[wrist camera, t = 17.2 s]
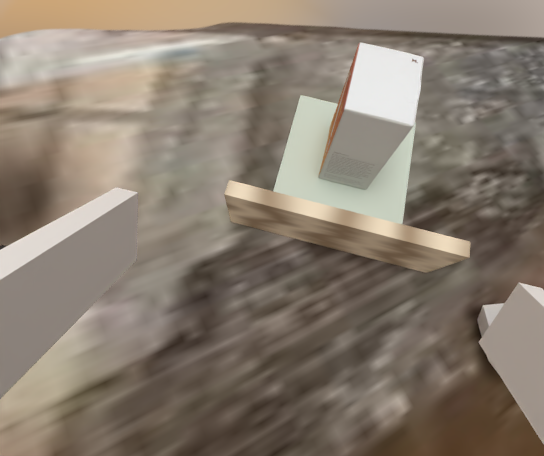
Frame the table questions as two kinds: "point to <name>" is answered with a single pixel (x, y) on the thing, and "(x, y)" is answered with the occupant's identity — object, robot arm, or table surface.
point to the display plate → (307, 185)
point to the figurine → (488, 318)
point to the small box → (372, 114)
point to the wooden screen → (342, 229)
